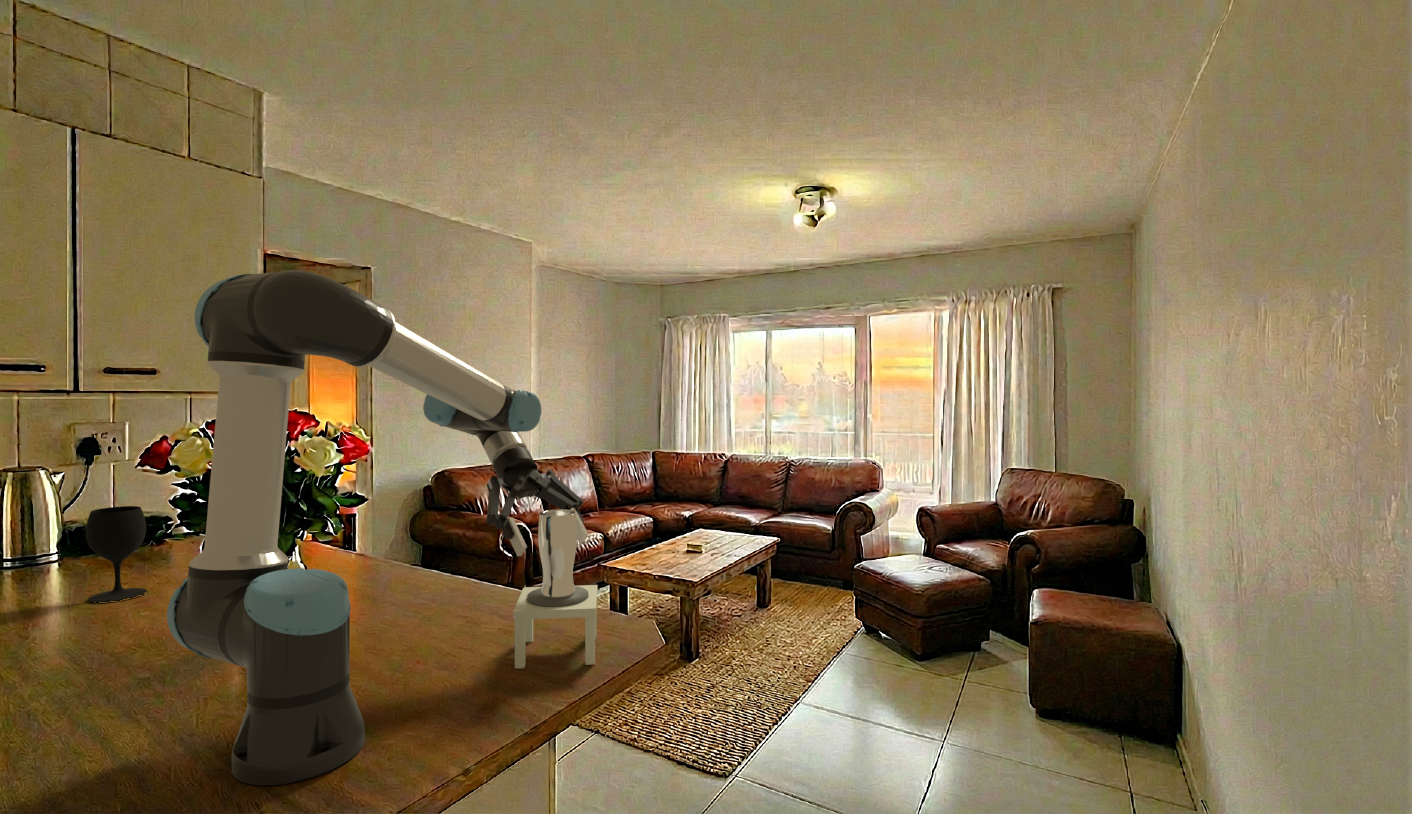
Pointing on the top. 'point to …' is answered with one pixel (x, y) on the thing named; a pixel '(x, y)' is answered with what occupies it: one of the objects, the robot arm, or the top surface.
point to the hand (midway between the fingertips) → (554, 545)
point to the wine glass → (116, 543)
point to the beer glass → (557, 552)
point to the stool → (545, 608)
